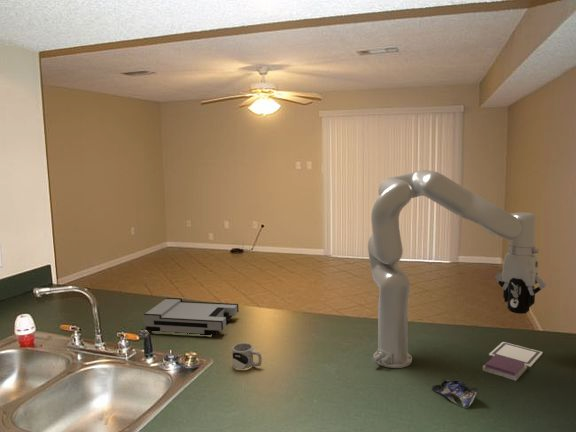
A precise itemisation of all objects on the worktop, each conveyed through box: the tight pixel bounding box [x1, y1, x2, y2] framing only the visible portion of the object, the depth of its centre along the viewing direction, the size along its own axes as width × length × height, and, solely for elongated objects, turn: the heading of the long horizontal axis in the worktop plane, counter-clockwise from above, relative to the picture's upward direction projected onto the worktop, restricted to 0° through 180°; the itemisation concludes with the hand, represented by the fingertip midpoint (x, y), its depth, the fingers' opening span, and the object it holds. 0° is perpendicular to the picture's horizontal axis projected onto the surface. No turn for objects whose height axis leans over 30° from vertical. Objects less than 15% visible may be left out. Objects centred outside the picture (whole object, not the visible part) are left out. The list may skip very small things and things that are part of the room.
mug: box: [231, 342, 263, 369], centre depth 152 cm, size 10×7×7 cm, turn 70°
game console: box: [142, 297, 239, 335], centre depth 187 cm, size 21×32×8 cm, turn 78°
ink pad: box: [482, 355, 528, 382], centre depth 146 cm, size 10×10×2 cm
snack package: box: [431, 379, 479, 409], centre depth 131 cm, size 12×6×12 cm
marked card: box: [488, 341, 544, 368], centre depth 156 cm, size 13×13×1 cm
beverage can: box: [506, 277, 531, 315], centre depth 153 cm, size 7×7×12 cm
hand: (518, 302), depth 153 cm, fingers closed on beverage can, 6 cm apart
